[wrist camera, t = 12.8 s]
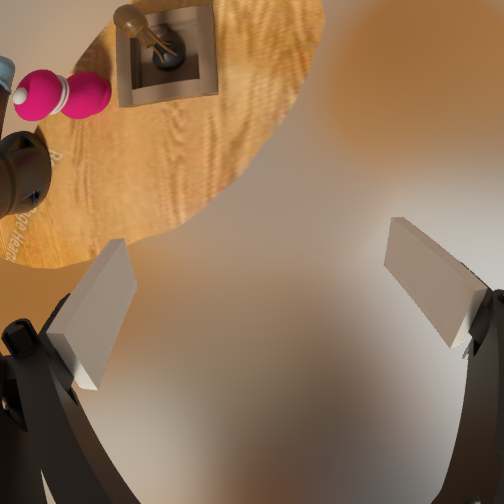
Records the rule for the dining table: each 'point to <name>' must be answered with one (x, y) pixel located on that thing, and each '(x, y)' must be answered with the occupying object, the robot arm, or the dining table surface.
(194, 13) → the box
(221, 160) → the dining table surface
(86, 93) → the pepper mill
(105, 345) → the robot arm
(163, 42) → the wooden tabletop sculpture
